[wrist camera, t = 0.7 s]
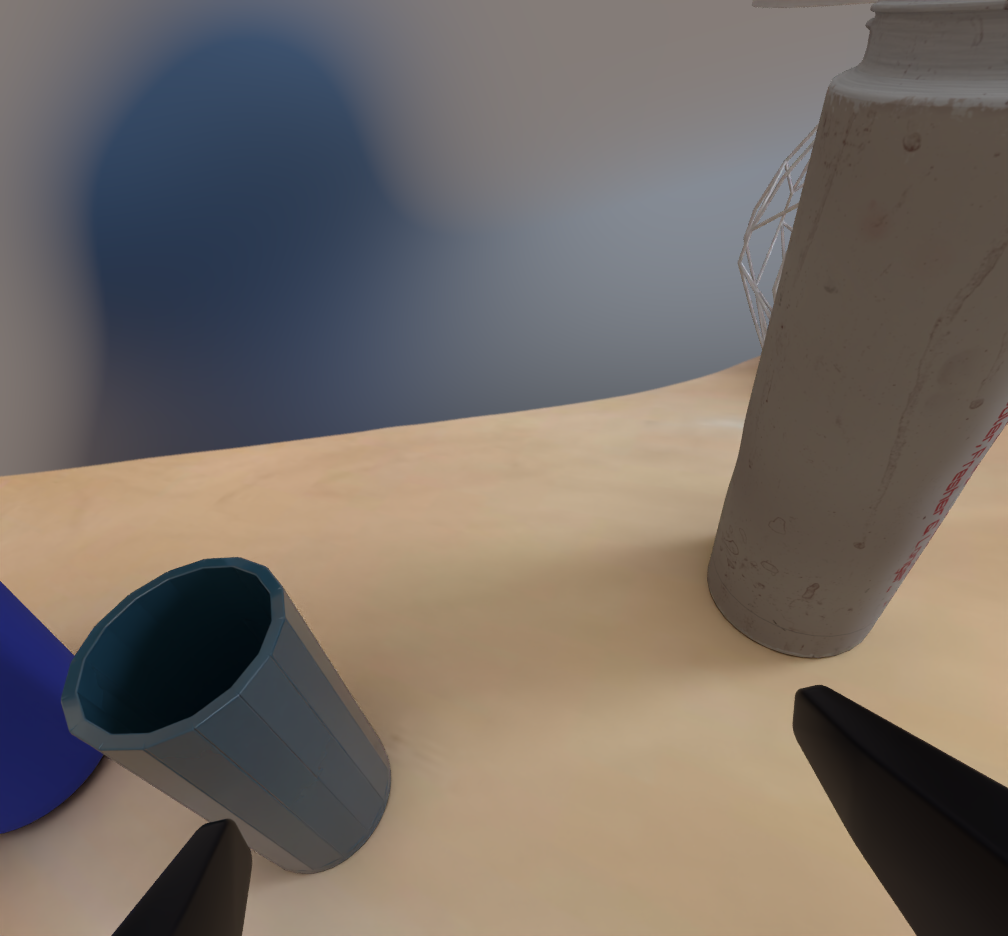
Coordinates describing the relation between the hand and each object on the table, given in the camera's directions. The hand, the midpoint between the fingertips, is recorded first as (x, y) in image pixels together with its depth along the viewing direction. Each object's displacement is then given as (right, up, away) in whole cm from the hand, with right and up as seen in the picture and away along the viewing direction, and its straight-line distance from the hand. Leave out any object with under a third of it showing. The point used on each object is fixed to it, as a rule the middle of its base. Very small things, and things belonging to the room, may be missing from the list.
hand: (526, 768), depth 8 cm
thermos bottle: (+15, -2, +20) cm, 25 cm away
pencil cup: (-8, -9, +15) cm, 19 cm away
